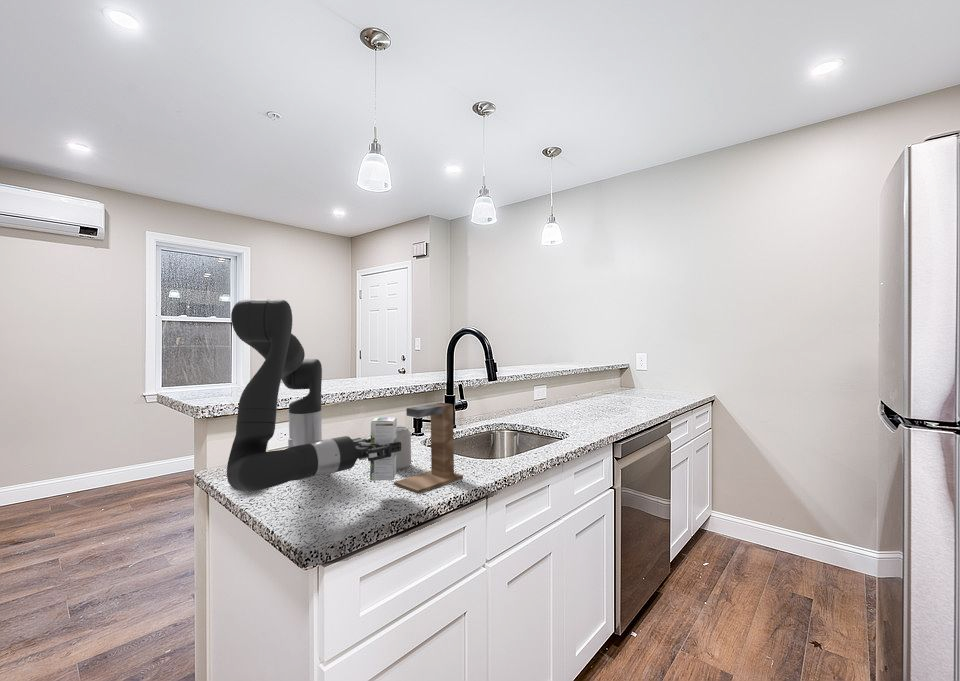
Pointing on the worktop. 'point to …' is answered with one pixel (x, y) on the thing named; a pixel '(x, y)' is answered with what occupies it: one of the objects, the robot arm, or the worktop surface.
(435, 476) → the keeper bracket
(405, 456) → the can
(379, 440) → the syrup box
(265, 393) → the robot arm
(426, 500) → the worktop surface
